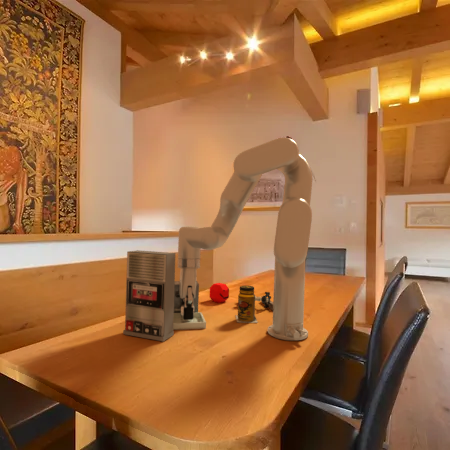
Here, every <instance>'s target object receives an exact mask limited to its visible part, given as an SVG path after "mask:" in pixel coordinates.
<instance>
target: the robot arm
mask: <svg viewBox="0 0 450 450" xmlns="http://www.w3.org/2000/svg"><path fill="white" fill-rule="evenodd" d="M275 170H278V171H279V172H280V173H282V175H283V177H284V187H283V196H282V203H281V205H280V207H279V209H278V212H277V213H278V214H277V218H276V219H277V220H276V227H275V235H274V242H273V243H274V244H273V255H274V272H273V273H274V275H273V280H274V281H273V301H272V302H273V311H272V324H270V325H269V326H268V327H267V333H268V335H269V336H271V337H272V338H273V337H274V338H275V339H279V340H284V341H295V342H296V341H302V340H305V339H307V338H308V337H309V331H308V330H307V329H306V328H305V327H304V317H305V314H304V311H305V286H306V285H305V283H306V259H307V256H308V251H309V244H310V234H311V227H312V220H313V212H312V208H311V200H312V190H313V189H312V187H313V173H312V169H311V165H310V163H308V161H307V160H306V158H305V157H303V155H302V154H300V149H299V146H298V144H297V143H296V141H295V140H293V139H291V138H289V137H278V138H275V139H271V140H270V141H267V142H265V143H262V144H259V145H257V146H254V147H252V148H248V149H246V150H243V151H242V152H240V153H239V154H238V155H236V157H235V158H234V161H233V173H232V175H231V176H230V179H229V180H228V182H227V184H225V185H226V186H225V187H224V189H223V191H222V192H221V194H220V200H219V201H220V203H219V210H218V212H217V215H216V217H215V219H214V221H213V222H212V224H211V226H205V227H197V226H181V227H180V228H179V229H178V239H177V240H178V243H177V244H178V247H177V268H178V269H180V271H179V281H180V287H179V294H180V298H181V299H183V303H182V305H183V304H184V303H185V307H184V314H183V319H184V320H192V319H193V310H194V307H193V299H194V298H195V296H196V281H197V271H198V270H197V269H200V268H201V250H202V249H203V250H207V251H212V250H216V249H218V248H221V247H223V246H224V245H225V244H226V243H227V240H228V238H229V237H230V235H231V234H232V232H233V231H234V228H235V227H236V224H237V222H238V220H239V218H240V216H241V214H242V212H243V211H244V208H245V206H246V204H247V202H248V201H249V198H251V195H252V193H253V192H254V191H255V189H256V187H257V185H258V183H259V182H260V180H261V178H262V176H263V174H267V173H270V172H273V171H275Z"/></svg>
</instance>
